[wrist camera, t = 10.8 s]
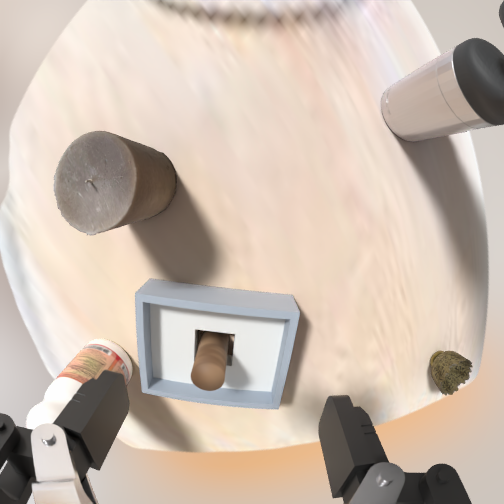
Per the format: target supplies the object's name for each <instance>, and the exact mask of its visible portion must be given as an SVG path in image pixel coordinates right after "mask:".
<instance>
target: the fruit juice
mask: <svg viewBox="0 0 504 504" xmlns="http://www.w3.org/2000/svg"><path fill="white" fill-rule="evenodd" d="M104 370H109V371H113V372H117V373H121V374H123V376H124V379H125V384H126V386H127V384H128V383H129V381H130V379H131V376H132V371H133V368H132V363H131V360H130V358H129V356H128V355H127V353H126V352H125V351H124V350H123V349H122V348H121V347H120V346H119V345H117V344H116V343H114V342H112V341H110V340H107V339H94V340H92V341H90V342H89V343H88V344H87V345H86V346H85V347H84V348H83V349H82V350H81V351H80V352H79V353H78V354H77V355H76V357H75V358H74V359H73V360H72V361H71V362H70V363H69V364H68V365H67V367H66V368H65V369H64V370H63V371H62V372H61V373H60V374H59V376H58V377H57V378H56V379H55V380H54V381H53V382H52V383H51V385H50V386H49V388H48V389H47V391H46V393H45V395H44V400H43V401H42V402H41V403H39V404H37V405H36V406H34V407H33V408H32V409H31V411H30V412H29V413H28V416H27V419H26V428H28V429H33V430H34V429H35V428H36V427H37V426H39V425H41V424H45V423H50V424H52V423H53V422H54V421H55V420H56V418H57V417H58V416H59V414H60V413H61V412H62V410H63V409H64V408H65V406H66V405H67V404H68V402H69V401H70V400H72V397H73V396H74V394H75V393H77V391H78V389H79V388H80V387H81V385H82V384H83V383H85V382H87V381H88V380H90V379H92V378H94V379H97V378H98V377H99V375H100V374H101V373H102V372H103V371H104Z"/></svg>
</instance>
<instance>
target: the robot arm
mask: <svg viewBox="0 0 504 504" xmlns="http://www.w3.org/2000/svg"><path fill="white" fill-rule="evenodd" d="M499 17H500V20H501V23H502V25H503V27H504V1H503V3H502V4H501V6H500V9H499ZM381 110H382V114H383V117H384V119H385V121H386V123H387V125H388V126H389V128H390V129H391V130H392V131H393V132H394V133H395V134H396V135H397V136H398V137H400V138H402V139H404V140H407V141H411V142H415V141H420V140H425V139H432V138H437V137H442V136H447V135H452V134H457V133H462V132H467V131H469V130H474V129H480V128H485V127H491V126H497V125H503V124H504V55H503V54H502V53H501V52H500V51H499V50H498V49H497V48H496V47H495V46H494V45H492V44H491V43H489V42H487V41H485V40H483V39H479V38H472V39H469V40H466V41H464V42H463V43H461V44H459V45H458V46H456V47H454V48H452V49H451V50H449V51H447V52H445V53H443V54H442V55H440V56H439V57H437V58H435V59H434V60H432V61H430V62H429V63H427V64H425V65H424V66H422V67H420V68H419V69H417V70H415V71H414V72H412V73H411V74H409V75H407V76H406V77H404V78H403V79H401V80H399V81H398V82H396V83H395V84H393V85H392V86H390V87H389V88H387V89H386V91H385V92H384V93H383V96H382V100H381ZM128 410H129V399H128V394H127V389H126V384H125V379H124V376H123V374H121V373H117V372H113V371H109V370H104V371H103V372H102V373H101V374H100V375H99V377H98V378H97V379H94V378H92V379H90V380H88V381H87V382H85V383H83V384H82V385H81V387H80V388H79V389H78V391H77V393H75V394H74V396H73V397H72V400H70V401H69V402H68V404H67V405H66V406H65V408H64V409H63V410H62V412H61V413H60V414H59V416H58V417H57V418H56V420H55V421H54V422H53V423H52V424H50V423H45V424H41V425H39V426H37V427H36V428H35V429H34V430H33V429H28V428H23V427H18V426H16V425H15V424H14V422H13V420H12V419H11V418H10V416H8V415H6V414H1V413H0V469H1V468H2V466H3V464H4V463H5V461H6V460H7V461H8V462H7V464H6V466H5V467H4V469H3V471H2V472H1V474H0V504H27V502H28V500H29V498H30V496H31V493H32V491H33V496H34V501H35V504H98V501H97V499H96V496H95V494H94V491H93V488H92V486H91V483H90V480H89V477H88V475H87V471H88V469H89V468H90V467H91V468H94V469H96V470H100V468H101V466H102V464H103V462H104V460H105V458H106V456H107V454H108V452H109V450H110V448H111V446H112V444H113V442H114V440H115V438H116V436H117V434H118V432H119V430H120V428H121V426H122V424H123V422H124V420H125V418H126V416H127V414H128ZM319 438H320V442H321V447H322V451H323V456H324V460H325V464H326V469H327V474H328V478H329V483H330V487H331V492H332V497H333V498H339V497H343V501H344V504H472V503H471V501H470V499H469V497H468V494H467V492H466V490H465V488H464V486H463V484H462V482H461V480H460V478H459V476H458V473H457V472H456V470H455V469H454V468H453V467H451V466H449V465H447V464H436V465H434V466H432V467H431V468H430V469H429V470H428V471H427V472H426V473H406V472H403V470H402V469H401V468H400V467H398V466H397V465H395V464H393V463H389V461H388V459H387V457H386V454H385V452H384V449H383V447H382V445H381V442H380V440H379V438H378V435H377V434H376V431H375V429H374V426H372V422H371V420H370V417H369V415H368V414H367V413H366V412H365V411H364V410H363V409H362V408H361V407H353V404H352V402H351V399H350V397H349V396H348V395H340V396H329V397H328V399H327V401H326V404H325V407H324V410H323V413H322V416H321V419H320V422H319Z"/></svg>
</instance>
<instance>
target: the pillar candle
mask: <svg viewBox="0 0 504 504" xmlns="http://www.w3.org/2000/svg"><path fill="white" fill-rule="evenodd" d="M176 183H177V181H176V174H175V169H174V167H173V164H172V163H171V161H170V160H169V158H168V157H167V156H166V155H165V154H164V153H162V152H158V151H156V150H155V149H153V148H151V147H147V146H145V145H142V144H140V143H137V142H134V141H131V140H129V139H126V138H124V137H121V136H118V135H116V134H113V133H109V132H105V131H94V132H89V133H87V134H84V135H82V136H81V137H79V138H78V139H76V140H75V141H74V142H72V144H71V145H70V146H69V147H68V148H67V149H66V151H65V152H64V154H63V156H62V157H61V159H60V161H59V164H58V167H57V170H56V173H55V175H54V192H55V196H56V200H57V206H58V209H60V211H61V214H62V216H63V217H64V218H65V219H66V221H67V222H68V223H69V224H70V225H71V226H73V227H74V228H76V229H77V230H79V231H81V232H84V233H87V235H95V234H96V233H101V232H105V231H108V230H111V229H114V228H118V227H121V226H124V225H127V224H130V223H134V222H138V221H141V220H145V219H148V218H150V217H153V216H155V215H157V214H159V213H160V212H162V211H163V210H165V209H166V208H167V206H168V205H169V204H170V202H171V200H172V198H173V196H174V193H175V190H176Z"/></svg>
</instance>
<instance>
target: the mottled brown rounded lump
mask: <svg viewBox="0 0 504 504" xmlns="http://www.w3.org/2000/svg"><path fill="white" fill-rule="evenodd" d="M430 364H431V366H432V367H431V375H432V378H433V380H434V381H435V383H436V385H437V386H438V388H439V389H440V391H441V393H442V394H443V393H444V394H445V395H447V394H450V395H452V394H453V393H454V391H458V388H457V386H459V385H460V384H461V383H463V384H465V380H468V379H469V372H472V371H471V369H470V367H472V365H471V364H472V363H471V362H470V360H468V359H466V358H464V357H463V356H461V355H460V354H458V353H456V352H453V351H445V352H444V351H437V352H435V353H434V354H433V356H432V357H431V360H430Z"/></svg>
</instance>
